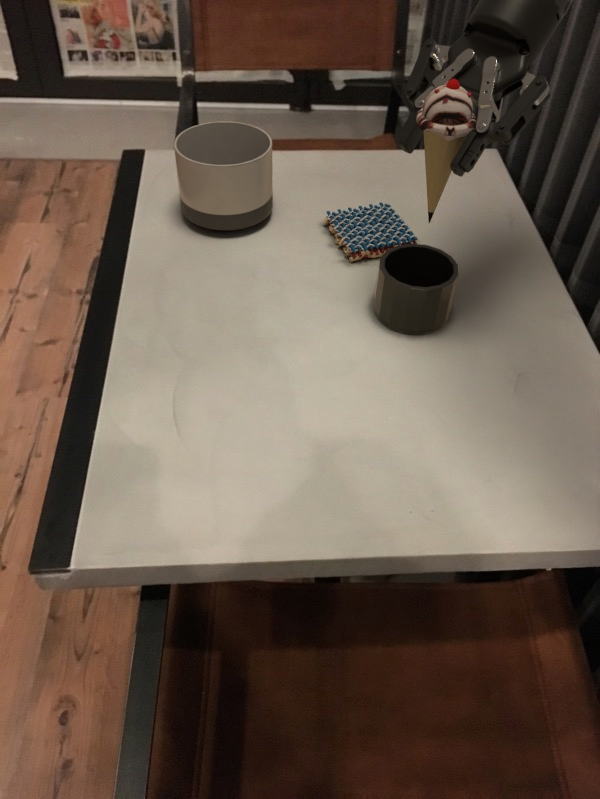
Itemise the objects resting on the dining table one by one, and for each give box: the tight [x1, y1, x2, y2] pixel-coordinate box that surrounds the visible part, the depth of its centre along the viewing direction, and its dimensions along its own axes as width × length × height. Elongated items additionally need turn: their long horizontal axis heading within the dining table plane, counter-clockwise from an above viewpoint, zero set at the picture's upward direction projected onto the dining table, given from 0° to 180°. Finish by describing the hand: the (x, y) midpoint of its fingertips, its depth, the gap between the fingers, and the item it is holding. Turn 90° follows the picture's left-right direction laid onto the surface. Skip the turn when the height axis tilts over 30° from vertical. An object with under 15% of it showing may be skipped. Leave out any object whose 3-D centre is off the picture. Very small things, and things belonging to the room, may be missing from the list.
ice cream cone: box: [416, 79, 477, 224], centre depth 68 cm, size 6×6×15 cm
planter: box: [173, 120, 274, 231], centre depth 93 cm, size 13×13×10 cm
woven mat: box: [323, 202, 420, 263], centre depth 93 cm, size 10×11×2 cm
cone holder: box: [373, 243, 460, 336], centre depth 80 cm, size 9×9×6 cm
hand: (429, 160), depth 67 cm, fingers closed on ice cream cone, 5 cm apart
